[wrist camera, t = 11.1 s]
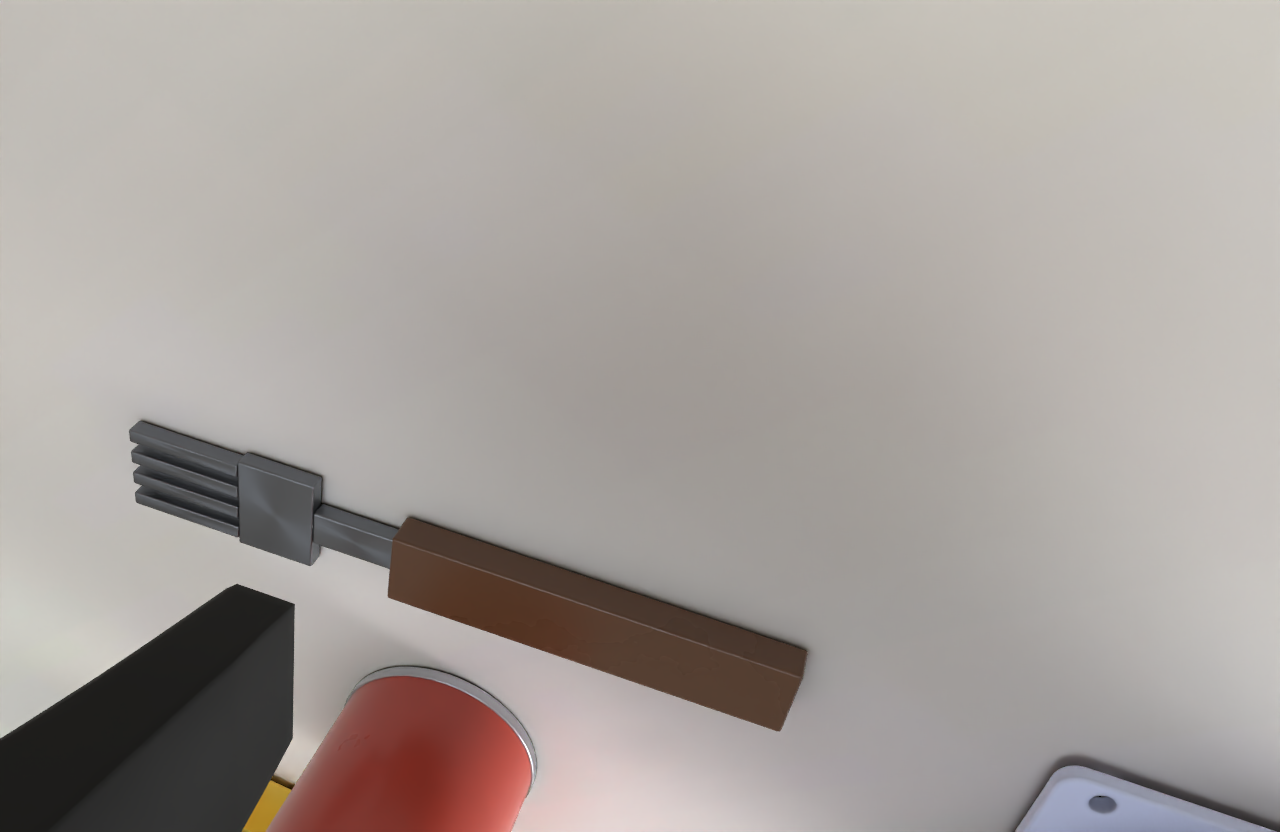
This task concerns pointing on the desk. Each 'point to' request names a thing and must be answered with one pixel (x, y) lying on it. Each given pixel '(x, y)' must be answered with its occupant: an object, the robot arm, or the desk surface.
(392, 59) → the desk surface
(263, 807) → the dish sponge
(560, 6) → the desk surface
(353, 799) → the tin can
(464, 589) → the fork
